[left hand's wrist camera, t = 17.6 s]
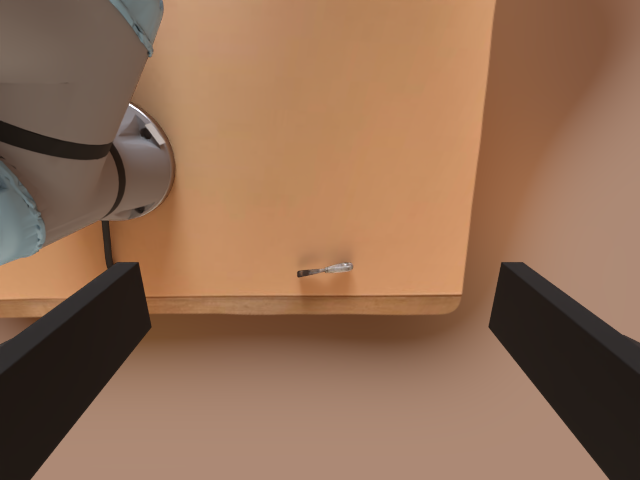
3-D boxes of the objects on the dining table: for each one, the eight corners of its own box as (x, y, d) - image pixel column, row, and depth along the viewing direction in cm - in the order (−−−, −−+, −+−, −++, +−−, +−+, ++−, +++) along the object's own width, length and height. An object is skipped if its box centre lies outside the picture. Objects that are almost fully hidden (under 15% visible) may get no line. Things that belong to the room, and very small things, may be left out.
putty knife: (353, 267, 49) (354, 272, 47) (298, 275, 49) (297, 280, 48) (352, 260, 49) (353, 265, 47) (297, 269, 49) (296, 274, 47)
